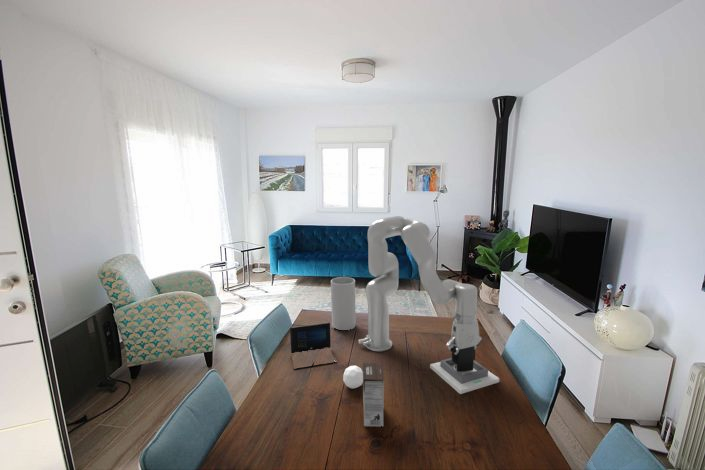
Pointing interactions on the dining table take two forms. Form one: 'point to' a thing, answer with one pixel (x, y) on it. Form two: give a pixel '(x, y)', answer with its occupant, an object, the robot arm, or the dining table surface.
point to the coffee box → (373, 394)
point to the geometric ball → (353, 377)
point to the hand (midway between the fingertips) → (463, 359)
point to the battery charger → (465, 359)
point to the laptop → (310, 337)
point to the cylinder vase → (343, 303)
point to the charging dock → (464, 376)
